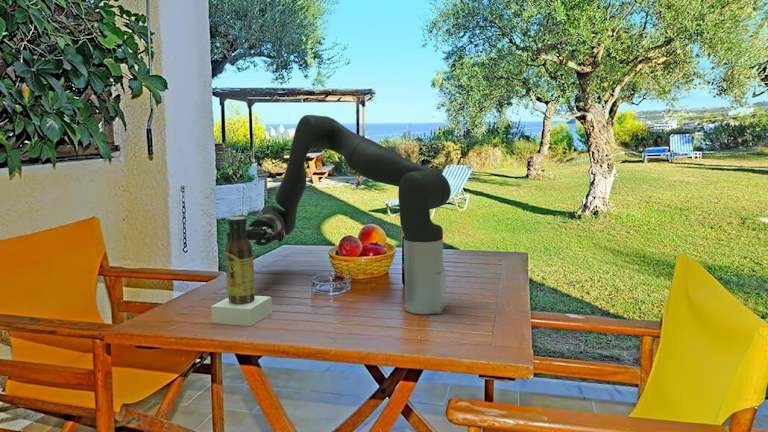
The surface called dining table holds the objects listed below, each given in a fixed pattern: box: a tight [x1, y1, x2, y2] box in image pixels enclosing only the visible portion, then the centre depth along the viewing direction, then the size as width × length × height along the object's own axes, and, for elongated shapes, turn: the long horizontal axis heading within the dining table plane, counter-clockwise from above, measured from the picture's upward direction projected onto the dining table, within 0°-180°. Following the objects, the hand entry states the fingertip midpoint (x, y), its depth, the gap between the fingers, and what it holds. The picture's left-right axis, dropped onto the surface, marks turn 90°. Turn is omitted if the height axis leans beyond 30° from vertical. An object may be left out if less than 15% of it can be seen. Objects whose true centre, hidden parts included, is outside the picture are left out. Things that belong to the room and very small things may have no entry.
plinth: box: [210, 295, 273, 327], centre depth 138 cm, size 10×10×4 cm
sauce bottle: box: [224, 216, 256, 304], centre depth 136 cm, size 6×6×20 cm
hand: (249, 240), depth 145 cm, fingers open, 8 cm apart
